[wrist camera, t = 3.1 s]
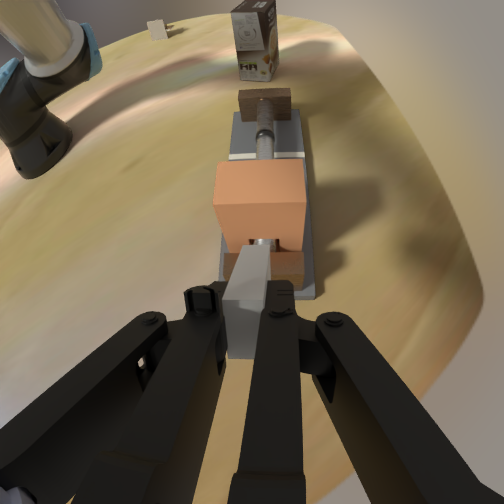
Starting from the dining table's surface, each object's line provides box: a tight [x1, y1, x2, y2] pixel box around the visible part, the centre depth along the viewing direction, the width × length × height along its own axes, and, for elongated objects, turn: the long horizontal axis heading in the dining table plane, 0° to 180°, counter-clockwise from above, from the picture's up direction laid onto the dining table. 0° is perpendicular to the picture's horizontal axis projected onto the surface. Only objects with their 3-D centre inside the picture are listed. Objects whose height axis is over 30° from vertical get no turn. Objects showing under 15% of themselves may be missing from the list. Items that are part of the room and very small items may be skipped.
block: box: [213, 159, 306, 253], centre depth 32 cm, size 5×8×11 cm, turn 88°
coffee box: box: [230, 0, 279, 82], centre depth 50 cm, size 9×6×16 cm
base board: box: [218, 109, 315, 300], centre depth 42 cm, size 32×11×2 cm, turn 179°
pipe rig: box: [223, 88, 305, 291], centre depth 39 cm, size 31×8×5 cm, turn 178°
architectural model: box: [147, 20, 174, 41], centre depth 70 cm, size 3×7×7 cm, turn 75°
